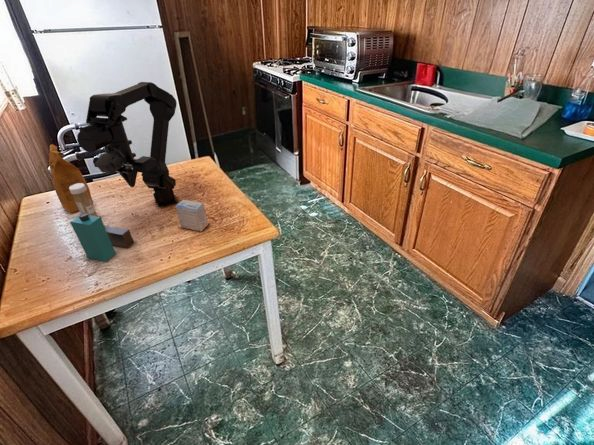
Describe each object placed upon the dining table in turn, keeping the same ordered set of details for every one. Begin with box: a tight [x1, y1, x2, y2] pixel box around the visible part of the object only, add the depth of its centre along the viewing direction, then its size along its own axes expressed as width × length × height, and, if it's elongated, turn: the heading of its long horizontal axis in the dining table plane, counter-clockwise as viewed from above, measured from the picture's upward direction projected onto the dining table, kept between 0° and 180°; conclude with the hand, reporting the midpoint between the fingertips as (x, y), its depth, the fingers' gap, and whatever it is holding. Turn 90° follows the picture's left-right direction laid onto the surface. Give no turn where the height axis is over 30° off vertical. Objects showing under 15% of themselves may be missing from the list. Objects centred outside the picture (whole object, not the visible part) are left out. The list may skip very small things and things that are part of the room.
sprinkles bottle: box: [69, 183, 99, 217], centre depth 110 cm, size 5×5×13 cm
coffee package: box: [48, 143, 94, 213], centre depth 117 cm, size 10×12×22 cm
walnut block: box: [104, 224, 135, 249], centre depth 101 cm, size 3×10×5 cm, turn 74°
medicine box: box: [175, 199, 209, 232], centre depth 107 cm, size 8×4×9 cm, turn 71°
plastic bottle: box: [69, 213, 117, 262], centre depth 94 cm, size 10×7×14 cm, turn 164°
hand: (132, 186), depth 106 cm, fingers closed
